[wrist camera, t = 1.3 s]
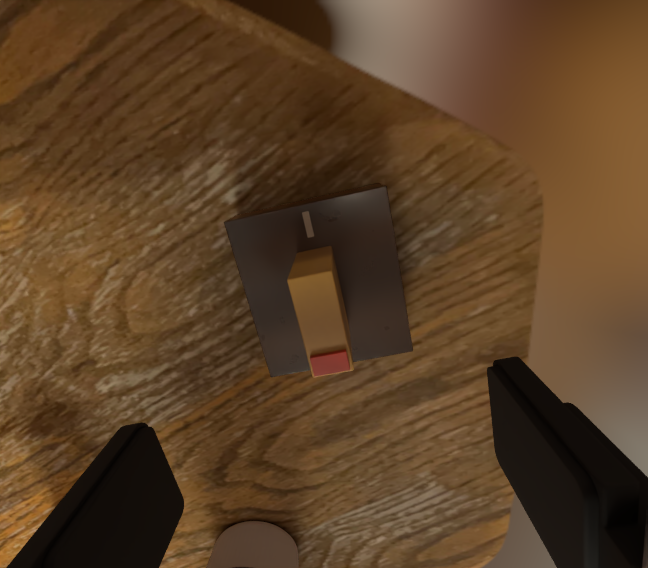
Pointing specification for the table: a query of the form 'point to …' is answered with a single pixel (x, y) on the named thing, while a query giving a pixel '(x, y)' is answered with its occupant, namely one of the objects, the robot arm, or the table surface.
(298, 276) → the thumbturn
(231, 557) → the coffee cup
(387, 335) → the plate
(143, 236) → the table surface
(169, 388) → the table surface
